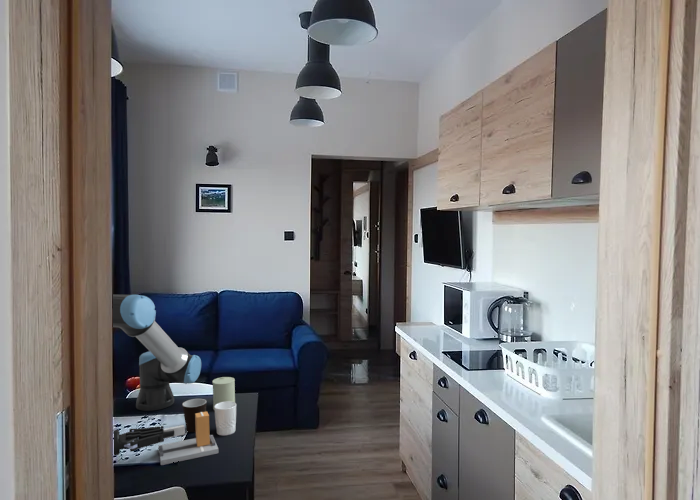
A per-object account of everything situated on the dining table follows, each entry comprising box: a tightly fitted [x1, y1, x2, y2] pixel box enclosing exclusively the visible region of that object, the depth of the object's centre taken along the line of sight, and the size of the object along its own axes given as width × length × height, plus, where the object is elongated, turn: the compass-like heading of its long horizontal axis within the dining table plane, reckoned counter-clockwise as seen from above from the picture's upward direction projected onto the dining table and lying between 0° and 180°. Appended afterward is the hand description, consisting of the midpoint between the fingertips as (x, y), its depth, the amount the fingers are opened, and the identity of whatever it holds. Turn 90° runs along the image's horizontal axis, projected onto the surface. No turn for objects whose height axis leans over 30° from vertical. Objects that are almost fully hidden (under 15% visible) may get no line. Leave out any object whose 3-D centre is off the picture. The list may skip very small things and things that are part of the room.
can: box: [211, 376, 236, 411], centre depth 200 cm, size 9×9×12 cm
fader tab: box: [195, 411, 211, 447], centre depth 162 cm, size 4×4×10 cm
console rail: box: [157, 434, 219, 466], centre depth 160 cm, size 12×18×2 cm, turn 115°
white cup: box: [213, 401, 237, 436], centre depth 175 cm, size 8×8×10 cm
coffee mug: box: [182, 398, 208, 433], centre depth 180 cm, size 12×9×10 cm
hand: (184, 429), depth 160 cm, fingers closed
